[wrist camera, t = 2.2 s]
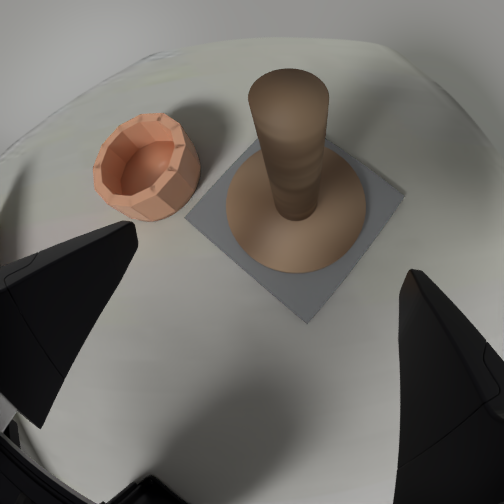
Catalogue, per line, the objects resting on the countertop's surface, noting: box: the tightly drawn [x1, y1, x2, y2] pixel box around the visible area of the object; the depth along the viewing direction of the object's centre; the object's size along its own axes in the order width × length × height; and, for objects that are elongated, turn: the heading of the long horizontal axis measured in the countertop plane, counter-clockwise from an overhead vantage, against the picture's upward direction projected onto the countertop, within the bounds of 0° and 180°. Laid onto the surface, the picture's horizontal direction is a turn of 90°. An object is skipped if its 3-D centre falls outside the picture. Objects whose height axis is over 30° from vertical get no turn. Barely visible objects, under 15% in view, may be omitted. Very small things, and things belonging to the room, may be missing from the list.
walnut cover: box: [226, 69, 366, 274], centre depth 16 cm, size 10×10×12 cm
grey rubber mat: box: [185, 138, 405, 324], centre depth 22 cm, size 12×12×1 cm
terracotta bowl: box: [93, 113, 201, 222], centre depth 23 cm, size 8×8×4 cm
